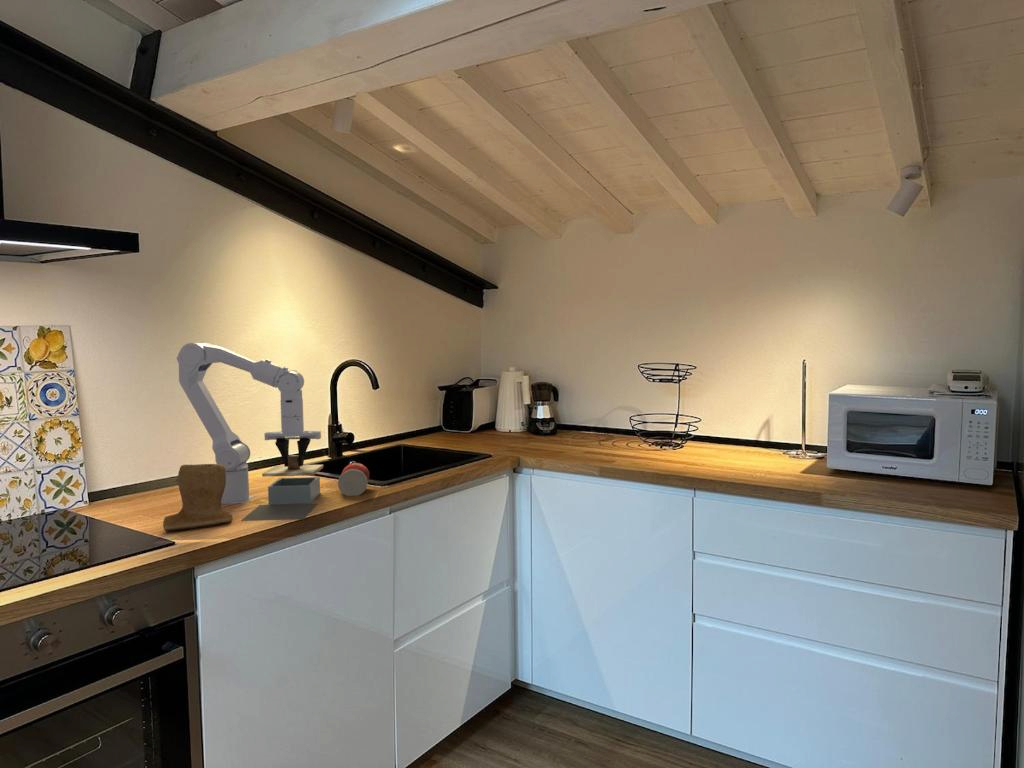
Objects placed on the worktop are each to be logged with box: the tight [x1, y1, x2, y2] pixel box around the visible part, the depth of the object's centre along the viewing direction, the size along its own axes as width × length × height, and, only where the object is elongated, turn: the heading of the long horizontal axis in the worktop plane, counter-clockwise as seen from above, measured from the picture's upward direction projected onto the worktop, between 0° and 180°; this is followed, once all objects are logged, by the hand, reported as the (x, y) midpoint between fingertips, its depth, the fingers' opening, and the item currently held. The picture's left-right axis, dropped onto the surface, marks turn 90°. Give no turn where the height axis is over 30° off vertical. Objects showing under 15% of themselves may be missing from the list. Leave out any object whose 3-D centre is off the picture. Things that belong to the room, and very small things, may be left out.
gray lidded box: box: [267, 476, 321, 505], centre depth 186 cm, size 11×11×5 cm
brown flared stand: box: [162, 463, 233, 532], centre depth 162 cm, size 15×12×15 cm
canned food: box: [337, 462, 370, 497], centre depth 194 cm, size 8×8×11 cm
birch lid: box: [261, 454, 324, 478], centre depth 186 cm, size 13×13×4 cm
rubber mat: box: [240, 502, 318, 522], centre depth 173 cm, size 15×15×1 cm
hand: (294, 465), depth 186 cm, fingers closed on birch lid, 3 cm apart
